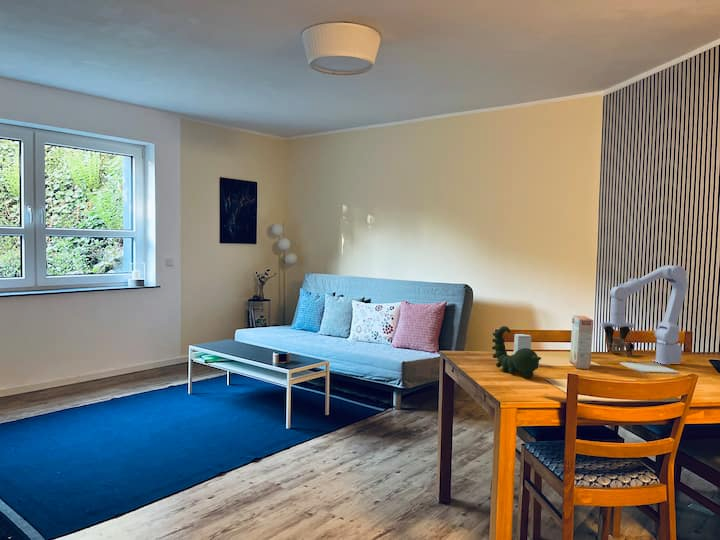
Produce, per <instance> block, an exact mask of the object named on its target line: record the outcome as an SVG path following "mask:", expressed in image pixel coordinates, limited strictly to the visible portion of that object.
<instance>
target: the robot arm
mask: <svg viewBox="0 0 720 540" xmlns="http://www.w3.org/2000/svg"><path fill="white" fill-rule="evenodd" d="M687 274H688V273H687V271H686V270H685V268H684V267H683V266H681V265H671V264H665V265H663V266H660V267H658V268H656V269H655V270H653V271H651V272H649V273H647V274H646V275H644V276H642V277H640V278H636V277H635V278H632V277H631V278H629V279H628V281H626V282H624V283H619V286H614V287H611V289H610V291H609V292H608V294H609V297H610V298H611V299H610V301H611V302H610V318H609V320H610V321H609V322H608V321H607V322H605V321H604V322H603V321H602V322H600V324H599V325H600V328H603V330H604V332H605V334H606V337H607V344H608V343H611V345H612V342H613V338H614V332H615V328H618V329H619V338H620V339H623V340H624V341H626V338H627V336H628V334H629V333H630V332H631V329H634V328H635V324H634V323H633V322H625V318H626V315H625V314H626V300H627V299H628V297H629V296H630V295H633V294H635V293H637V292H639V291H641V290H643V287H644V286H645V285H648V284H649V283H652V282H655V281H657V280H660V279H664V280H665V281H666V282H669V284H670V285H671V287H672V289H671V292H670V295H669V300H668V302H667V303H668V304H667V306H666V310H665V314H664V317H663V320H662V321H661V322H660V323H659V324H658V327H657V328H656V329H655V331H654V335H653V336H654V337H655V339H656V347H655V348H656V350H655V351H656V352H655V359H651V360H652V362H654V361H655V362H654V363H657V362H658V363H657V364H660V363H661V364H660V365H670V364H672V363H681V364H682V354H683V353H682V350H683V349H682V347H681V345H680V344H678V341H679V340H680V333H679V331H680V328H679V326H678V321H679V318H680V314H681V311H682V308H683V305H684V300H685V297H686V294H687V290H688V287H689V285H688V284H689V283H688V279H687Z"/></svg>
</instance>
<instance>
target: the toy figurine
mask: <svg viewBox="0 0 720 540" xmlns="http://www.w3.org/2000/svg"><path fill="white" fill-rule="evenodd" d="M506 332H507V333H508V334H510V333H511V329H510V328H509V327H508V326H507V325H506V326H505V325H503V326H501V327H499V328H498V330H496V331H494V332H493V333H492V336H493V337H494V338H493V339H492V340H491V341H492V342H493V343H494V344H495V345H493V346H492V347H491V348H492V350H493V351H495V353H493V354H492V358H493V359H497V363H495V366H496V367H497V368H501V367H502V368H501V371H502V373H506V372H508V373H510V374H511V375H513V374H515V373H518V372H519V373H521V374H522V376H523V378H525V379H531V378H533V376H534V371H536V370H538V369H539V365H540V360H541V359H542V357H541V356H538V354H537V353H536V352H535V350H533V349H532V348H531V349H529V348H522V349H520V350H518V351H517V352H516V353H515V354H514V353H513V354H514V355H513V354H511V355H509V354H508V351H507V350H506V345H505V338H504V333H506Z"/></svg>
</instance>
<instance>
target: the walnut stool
mask: <svg viewBox="0 0 720 540" xmlns="http://www.w3.org/2000/svg"><path fill="white" fill-rule="evenodd" d="M611 345H612V351H613V352H615V353H616V352H617V351H619V350H620V351H619V352H620V353H625V346H624V340H623V339H620V337H613V342H612V344H611V343H608V342H607V350H608V351H610V350H611ZM619 345H621V348H619ZM612 351H611V352H612ZM613 352H612V353H613Z"/></svg>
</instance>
